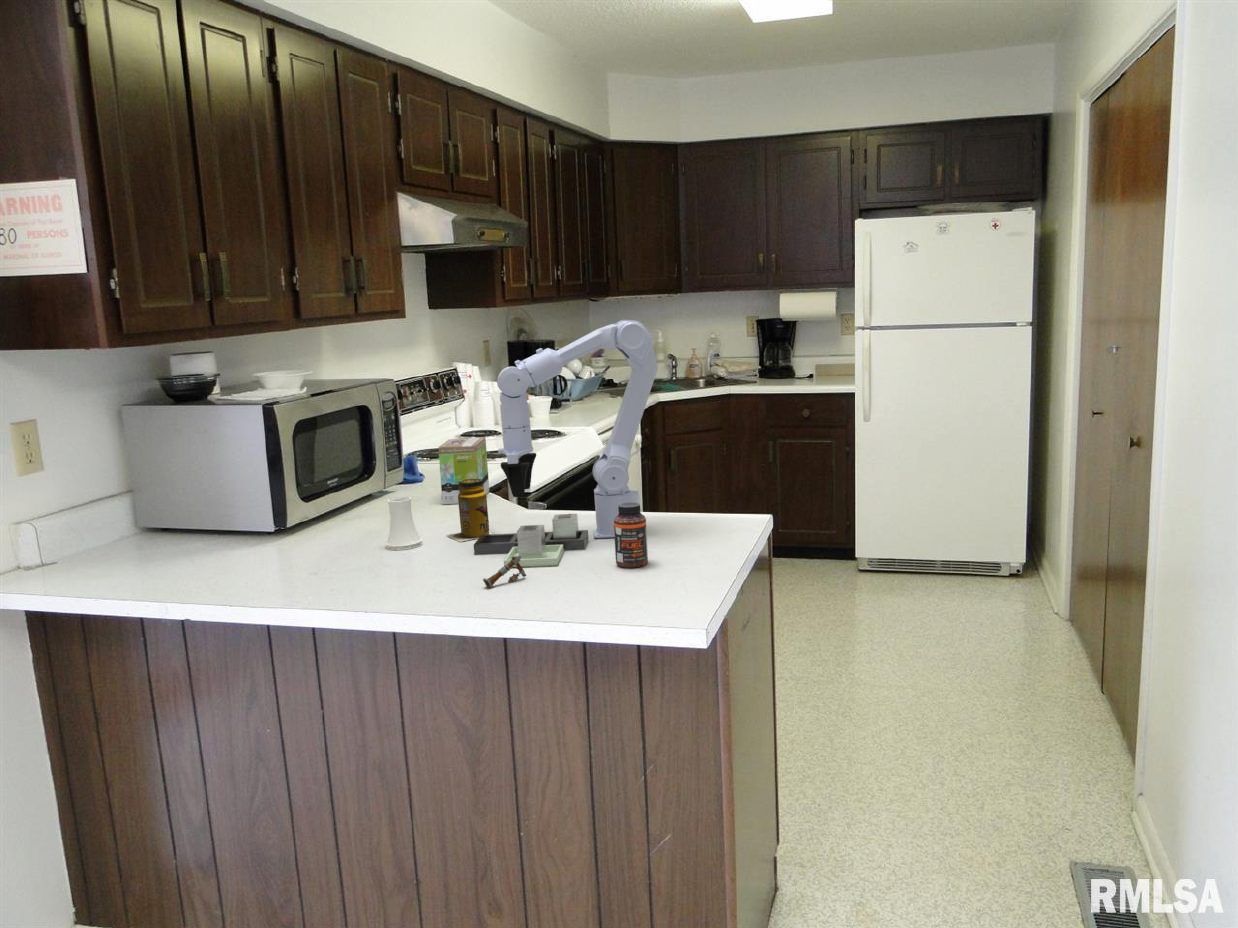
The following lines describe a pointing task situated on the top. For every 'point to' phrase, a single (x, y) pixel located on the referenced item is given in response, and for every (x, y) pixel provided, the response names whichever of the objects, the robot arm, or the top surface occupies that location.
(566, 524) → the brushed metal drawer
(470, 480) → the condiment
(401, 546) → the vase
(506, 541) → the rack frame
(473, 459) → the tea box
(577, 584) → the top surface
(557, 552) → the parts tray
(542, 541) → the grey box
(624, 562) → the supplement bottle
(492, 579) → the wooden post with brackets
